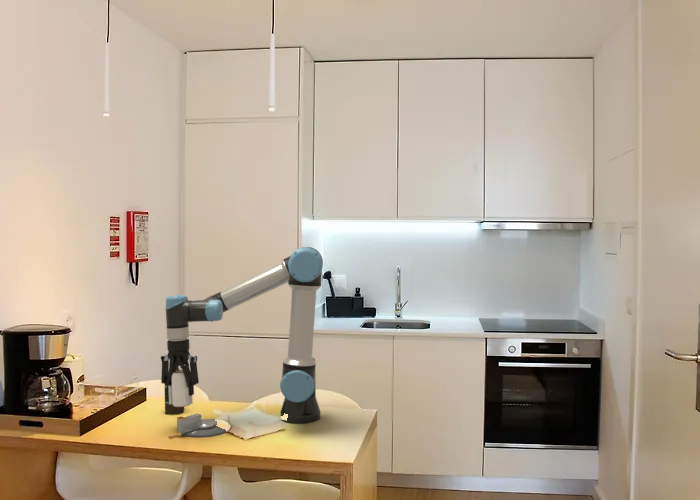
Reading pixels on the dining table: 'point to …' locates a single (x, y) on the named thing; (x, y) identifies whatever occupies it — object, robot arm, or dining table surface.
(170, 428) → the dining table surface
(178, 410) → the beer bottle
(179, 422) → the dial
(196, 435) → the dial plate
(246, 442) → the dining table surface
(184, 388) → the can
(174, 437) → the small orange block
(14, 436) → the dining table surface
